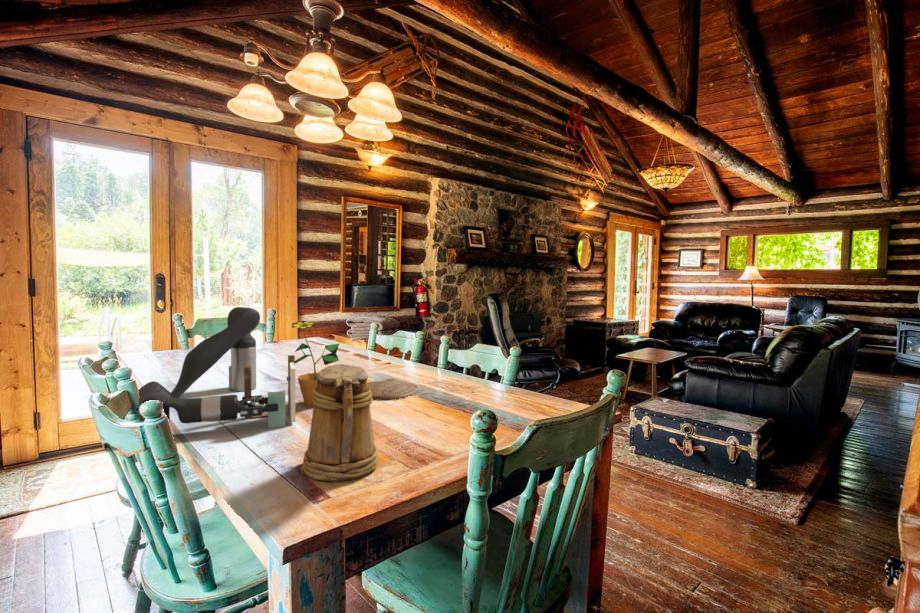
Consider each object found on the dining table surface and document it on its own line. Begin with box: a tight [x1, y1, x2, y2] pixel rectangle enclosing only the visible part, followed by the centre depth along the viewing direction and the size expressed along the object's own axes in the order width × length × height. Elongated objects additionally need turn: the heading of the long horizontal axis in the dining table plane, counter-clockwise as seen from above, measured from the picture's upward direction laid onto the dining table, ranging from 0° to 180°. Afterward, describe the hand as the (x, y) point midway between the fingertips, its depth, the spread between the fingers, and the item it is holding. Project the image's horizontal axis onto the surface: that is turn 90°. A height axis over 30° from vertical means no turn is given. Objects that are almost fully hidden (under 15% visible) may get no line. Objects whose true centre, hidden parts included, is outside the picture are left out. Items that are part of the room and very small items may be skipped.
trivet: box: [367, 380, 419, 401], centre depth 186 cm, size 25×25×2 cm
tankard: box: [302, 363, 380, 483], centre depth 111 cm, size 18×24×25 cm
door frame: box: [243, 354, 296, 420], centre depth 151 cm, size 15×3×20 cm, turn 113°
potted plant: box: [291, 320, 340, 407], centre depth 166 cm, size 18×19×30 cm
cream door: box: [286, 362, 296, 423], centre depth 147 cm, size 10×2×17 cm, turn 23°
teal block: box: [267, 390, 286, 429], centre depth 143 cm, size 5×5×10 cm
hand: (277, 403), depth 143 cm, fingers open, 8 cm apart
